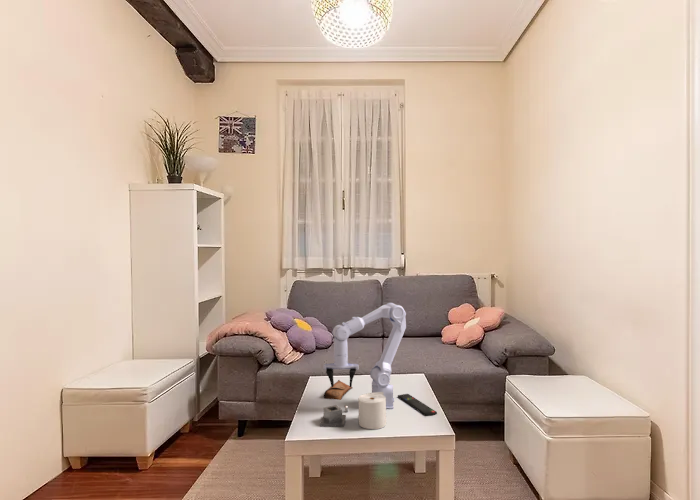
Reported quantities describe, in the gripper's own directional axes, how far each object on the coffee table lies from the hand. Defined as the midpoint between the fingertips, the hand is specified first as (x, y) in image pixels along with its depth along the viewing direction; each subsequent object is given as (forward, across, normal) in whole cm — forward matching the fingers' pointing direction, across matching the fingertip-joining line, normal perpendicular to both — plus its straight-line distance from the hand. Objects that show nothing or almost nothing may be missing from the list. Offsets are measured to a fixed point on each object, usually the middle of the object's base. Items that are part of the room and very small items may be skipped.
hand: (341, 386), depth 177 cm
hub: (+10, +2, +12) cm, 16 cm away
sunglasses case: (+11, +4, -21) cm, 24 cm away
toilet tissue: (+10, -13, +12) cm, 21 cm away
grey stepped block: (+9, +2, +12) cm, 15 cm away
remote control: (+11, -31, -7) cm, 34 cm away
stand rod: (+10, -2, +2) cm, 10 cm away
